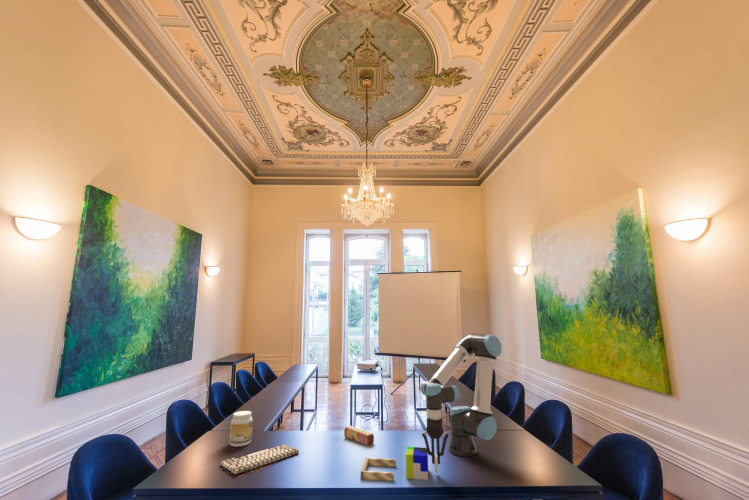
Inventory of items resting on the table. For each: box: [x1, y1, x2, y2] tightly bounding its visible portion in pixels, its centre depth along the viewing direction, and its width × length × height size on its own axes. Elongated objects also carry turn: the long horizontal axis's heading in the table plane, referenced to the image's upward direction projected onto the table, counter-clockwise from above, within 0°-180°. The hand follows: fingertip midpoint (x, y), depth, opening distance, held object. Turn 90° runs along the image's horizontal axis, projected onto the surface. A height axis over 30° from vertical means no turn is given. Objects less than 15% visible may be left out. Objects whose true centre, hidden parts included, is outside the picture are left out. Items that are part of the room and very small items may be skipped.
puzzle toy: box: [405, 446, 429, 481], centre depth 160 cm, size 10×10×10 cm
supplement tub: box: [229, 410, 254, 448], centre depth 200 cm, size 12×12×17 cm
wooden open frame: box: [360, 457, 397, 482], centre depth 162 cm, size 16×16×3 cm
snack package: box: [343, 424, 375, 447], centre depth 204 cm, size 21×7×7 cm, turn 45°
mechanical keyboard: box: [219, 443, 300, 478], centre depth 175 cm, size 38×19×3 cm, turn 138°
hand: (436, 471), depth 159 cm, fingers closed
